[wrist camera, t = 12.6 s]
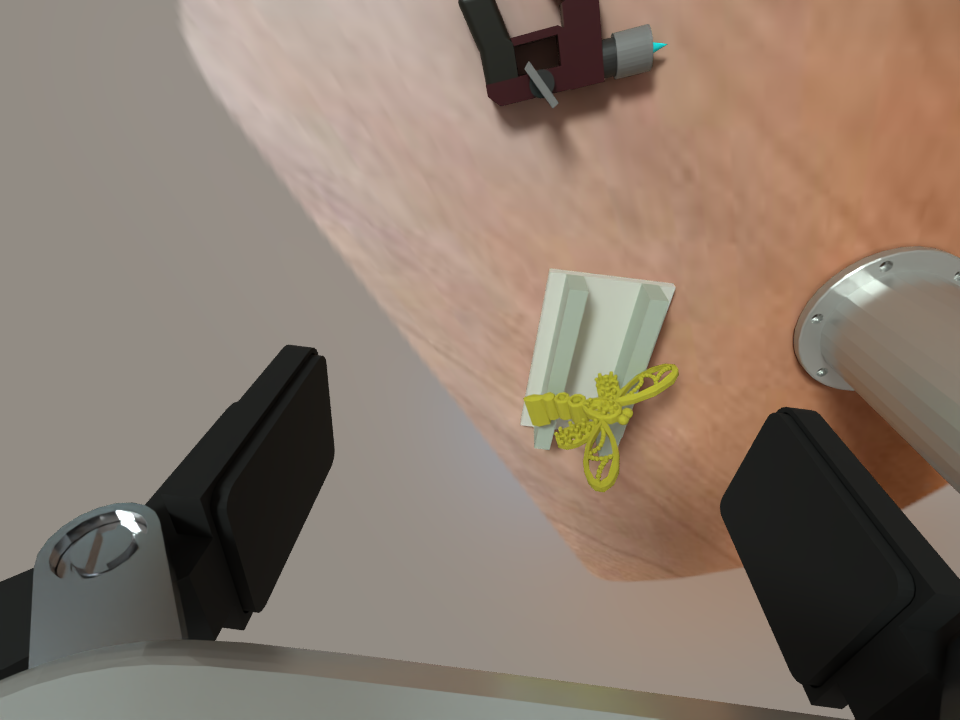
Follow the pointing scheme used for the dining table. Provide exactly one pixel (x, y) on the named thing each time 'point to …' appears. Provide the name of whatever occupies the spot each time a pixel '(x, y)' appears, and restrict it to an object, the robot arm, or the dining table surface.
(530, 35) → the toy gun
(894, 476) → the dining table surface
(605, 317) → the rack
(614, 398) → the decorative insect
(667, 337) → the dining table surface
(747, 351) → the dining table surface
